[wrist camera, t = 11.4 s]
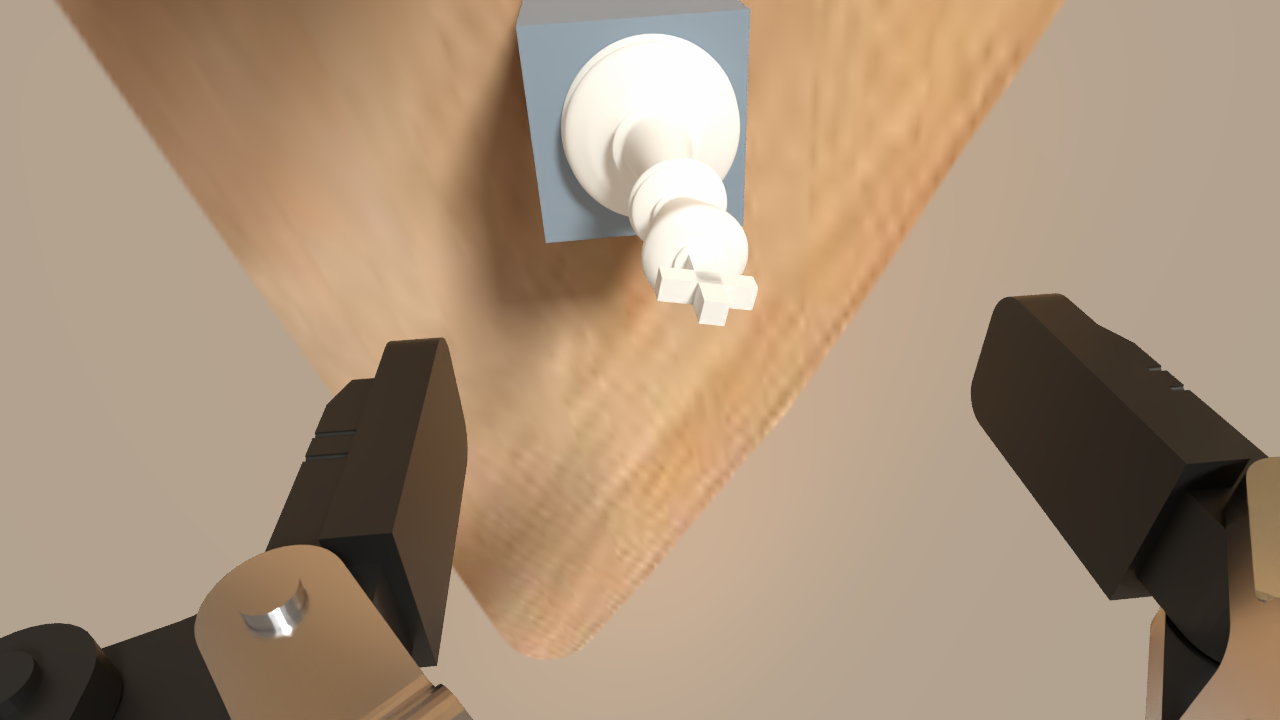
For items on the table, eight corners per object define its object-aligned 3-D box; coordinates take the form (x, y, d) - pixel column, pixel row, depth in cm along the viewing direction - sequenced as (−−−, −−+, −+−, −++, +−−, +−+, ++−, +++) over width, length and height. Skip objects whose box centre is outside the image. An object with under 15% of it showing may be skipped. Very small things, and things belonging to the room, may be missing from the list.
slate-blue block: (522, -1, 22) (515, 26, 18) (718, -16, 22) (749, 8, 18) (547, 187, 25) (546, 243, 22) (716, 173, 26) (743, 225, 22)
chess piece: (572, 18, 18) (583, 144, 10) (757, 49, 19) (909, 188, 11) (552, 201, 21) (548, 419, 13) (716, 221, 22) (811, 438, 14)
